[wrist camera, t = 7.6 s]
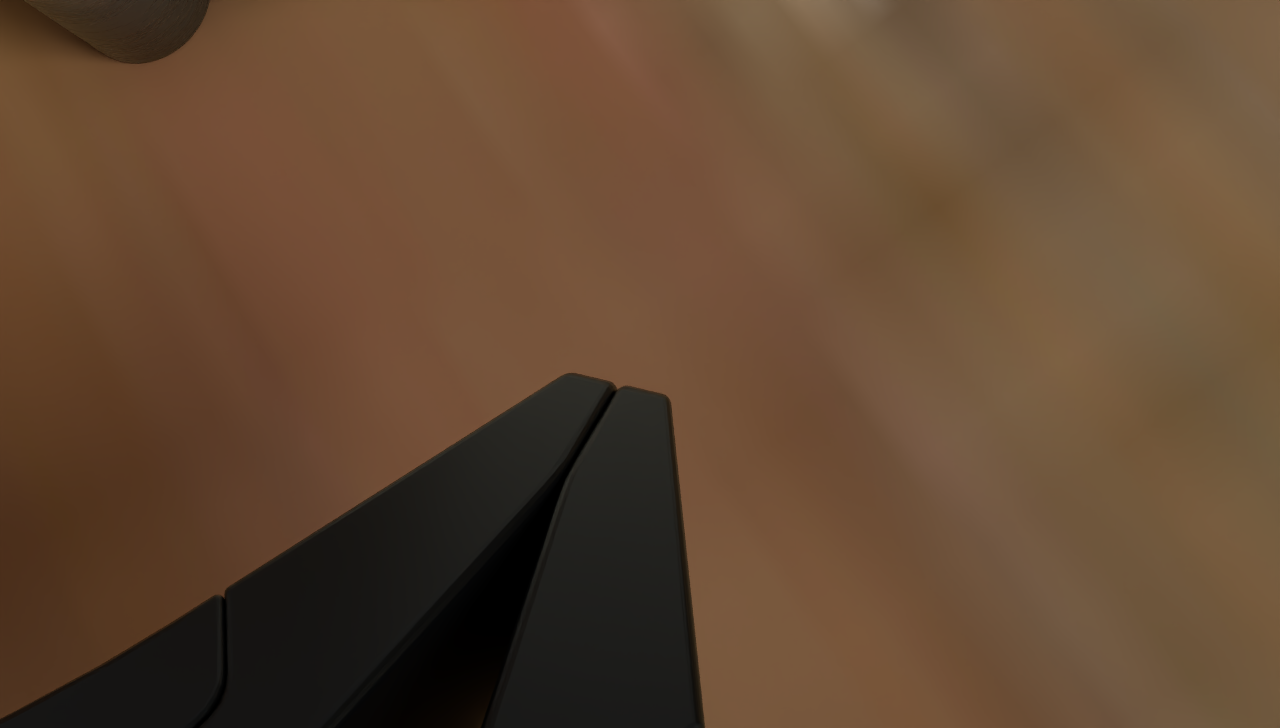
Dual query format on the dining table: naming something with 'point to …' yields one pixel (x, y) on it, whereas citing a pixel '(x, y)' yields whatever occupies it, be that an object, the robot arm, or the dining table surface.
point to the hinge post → (128, 24)
